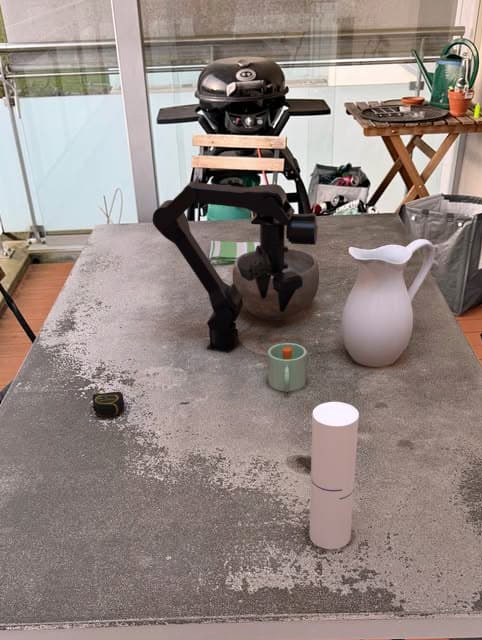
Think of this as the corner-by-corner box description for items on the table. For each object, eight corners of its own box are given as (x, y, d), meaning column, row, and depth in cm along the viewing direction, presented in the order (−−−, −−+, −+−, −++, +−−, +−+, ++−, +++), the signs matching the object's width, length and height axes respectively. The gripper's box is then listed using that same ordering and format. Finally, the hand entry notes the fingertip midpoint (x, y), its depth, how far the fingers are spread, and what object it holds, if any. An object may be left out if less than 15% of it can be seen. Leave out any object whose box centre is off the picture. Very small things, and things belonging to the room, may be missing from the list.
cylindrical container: (306, 523, 131) (309, 403, 116) (346, 520, 131) (353, 400, 117) (312, 550, 125) (316, 427, 110) (354, 547, 125) (363, 424, 111)
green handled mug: (268, 372, 176) (268, 342, 172) (305, 373, 176) (306, 342, 171) (267, 398, 167) (266, 367, 162) (306, 398, 166) (306, 367, 162)
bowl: (218, 323, 200) (215, 270, 192) (251, 290, 218) (250, 241, 210) (302, 336, 192) (303, 281, 184) (329, 300, 211) (331, 249, 202)
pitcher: (365, 379, 172) (374, 265, 157) (326, 351, 185) (331, 242, 169) (445, 355, 181) (461, 245, 165) (403, 330, 194) (414, 225, 178)
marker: (281, 381, 172) (281, 350, 167) (284, 377, 173) (284, 346, 169) (289, 382, 171) (289, 351, 167) (292, 378, 173) (292, 347, 168)
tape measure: (124, 402, 167) (122, 388, 165) (125, 418, 161) (123, 403, 159) (93, 406, 166) (91, 391, 164) (94, 421, 160) (91, 407, 158)
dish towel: (281, 263, 236) (281, 255, 234) (209, 265, 236) (208, 257, 234) (279, 244, 251) (279, 236, 249) (210, 246, 251) (210, 238, 249)
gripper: (223, 237, 175) (226, 298, 184) (261, 261, 161) (262, 326, 170) (264, 229, 179) (264, 289, 188) (304, 251, 165) (303, 315, 174)
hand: (272, 304), depth 180 cm, fingers open, 9 cm apart
